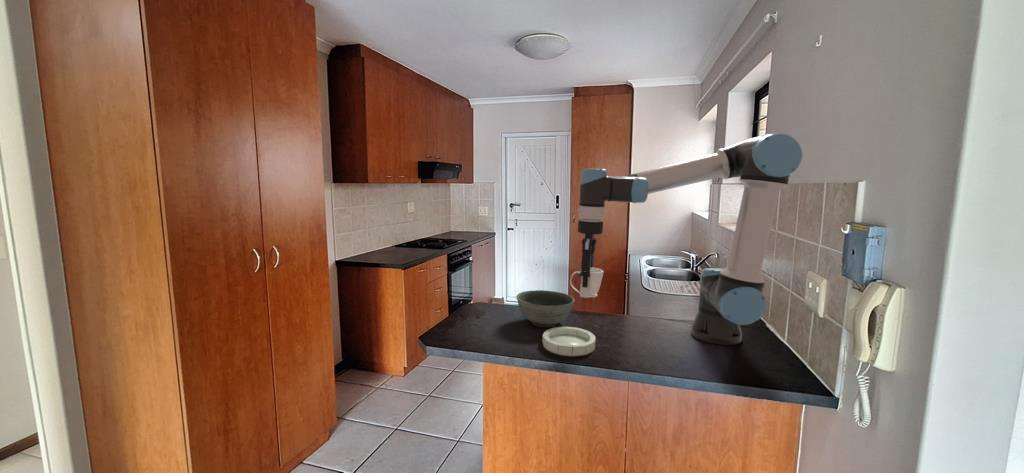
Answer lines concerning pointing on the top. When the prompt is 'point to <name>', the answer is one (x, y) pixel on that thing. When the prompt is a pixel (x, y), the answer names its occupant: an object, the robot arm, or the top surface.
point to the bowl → (545, 306)
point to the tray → (569, 341)
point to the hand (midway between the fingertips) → (585, 293)
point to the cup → (592, 281)
